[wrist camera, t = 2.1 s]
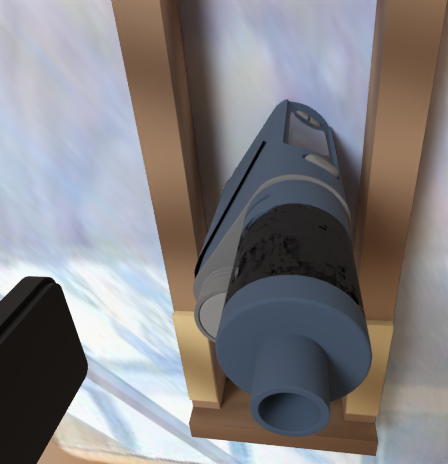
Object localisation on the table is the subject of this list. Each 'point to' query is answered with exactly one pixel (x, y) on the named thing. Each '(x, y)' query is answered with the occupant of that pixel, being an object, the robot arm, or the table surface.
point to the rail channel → (368, 215)
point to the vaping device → (285, 277)
